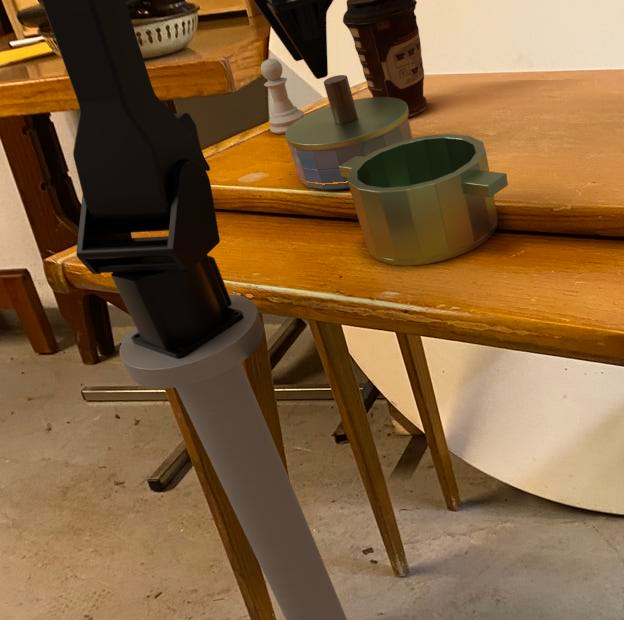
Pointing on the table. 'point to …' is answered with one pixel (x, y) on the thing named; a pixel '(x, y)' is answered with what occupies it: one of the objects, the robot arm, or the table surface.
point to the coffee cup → (389, 49)
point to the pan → (341, 158)
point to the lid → (346, 119)
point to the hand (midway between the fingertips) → (310, 68)
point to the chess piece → (279, 98)
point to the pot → (424, 198)
